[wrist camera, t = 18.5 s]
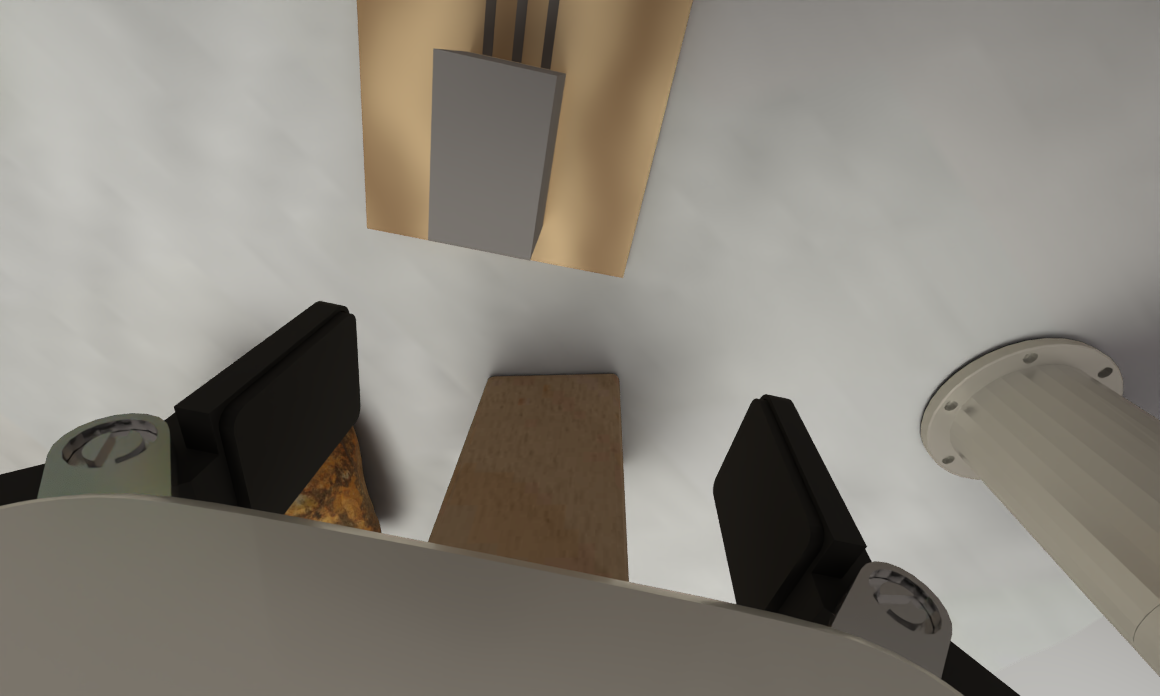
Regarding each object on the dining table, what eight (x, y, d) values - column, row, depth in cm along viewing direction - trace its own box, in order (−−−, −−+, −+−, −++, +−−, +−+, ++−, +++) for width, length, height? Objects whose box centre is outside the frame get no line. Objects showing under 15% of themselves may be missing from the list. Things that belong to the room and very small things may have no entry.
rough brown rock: (371, 568, 51) (310, 739, 38) (199, 523, 46) (64, 703, 33) (452, 417, 41) (406, 582, 28) (242, 340, 36) (72, 497, 23)
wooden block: (487, 373, 36) (381, 652, 19) (618, 370, 36) (632, 656, 18) (505, 469, 41) (434, 757, 24) (620, 468, 41) (632, 763, 23)
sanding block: (566, 73, 24) (557, 75, 19) (543, 225, 28) (530, 260, 23) (469, 51, 24) (433, 48, 19) (460, 208, 28) (428, 240, 23)
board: (741, -213, 20) (751, -233, 19) (621, 268, 31) (622, 278, 30) (360, -311, 19) (341, -341, 18) (377, 220, 30) (367, 228, 29)
